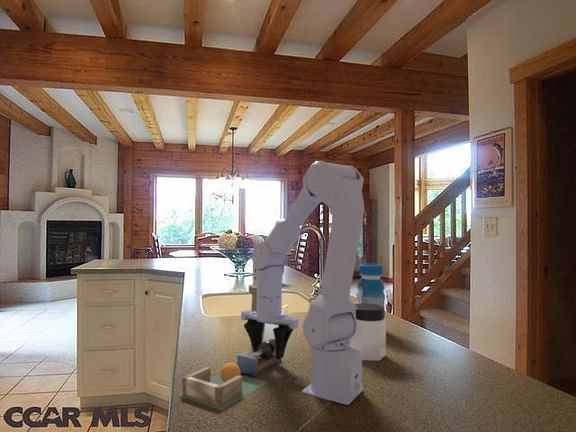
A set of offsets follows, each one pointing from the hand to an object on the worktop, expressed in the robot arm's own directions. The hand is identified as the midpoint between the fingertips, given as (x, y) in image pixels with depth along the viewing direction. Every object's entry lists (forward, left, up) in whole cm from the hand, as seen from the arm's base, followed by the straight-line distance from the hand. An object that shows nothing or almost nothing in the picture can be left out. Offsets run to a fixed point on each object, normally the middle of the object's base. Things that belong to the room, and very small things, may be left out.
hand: (268, 355), depth 90 cm
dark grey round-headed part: (0, +3, -1) cm, 3 cm away
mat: (0, +16, -2) cm, 16 cm away
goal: (0, +19, -2) cm, 19 cm away
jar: (-17, -18, -2) cm, 25 cm away
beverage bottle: (-10, -40, -2) cm, 42 cm away
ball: (0, +14, 0) cm, 14 cm away
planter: (+67, -98, -2) cm, 119 cm away
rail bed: (0, +2, -2) cm, 3 cm away
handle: (+12, -12, -2) cm, 17 cm away
